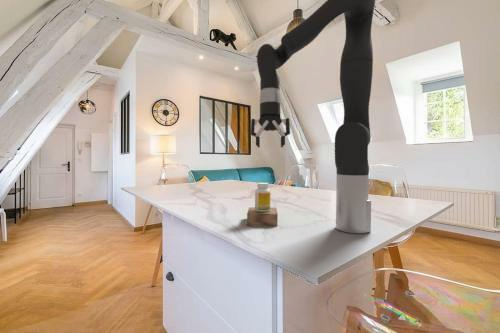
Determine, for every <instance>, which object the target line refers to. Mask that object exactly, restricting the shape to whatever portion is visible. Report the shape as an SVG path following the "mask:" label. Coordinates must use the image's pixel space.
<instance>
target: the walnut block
mask: <svg viewBox="0 0 500 333" xmlns="http://www.w3.org/2000/svg"><path fill="white" fill-rule="evenodd" d="M278 220H279V219H278V211H277V207H270V211H268V212H259V211H256V210H255V206H254V207H253V206H250V207H248V211H247V213H246V225H247V226H251V227H253V226H254V227H255V226H256V227H259V226H261V227H268V226H269V227H278Z"/></svg>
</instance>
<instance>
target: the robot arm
mask: <svg viewBox="0 0 500 333" xmlns="http://www.w3.org/2000/svg"><path fill="white" fill-rule="evenodd" d="M375 5H376V0H326V1H325V2H324V3H323V4H322V5H320V6H319V7H318V8H317V9H316V10H315V11H314V12H313V13H312V14H310V16H308V17H307V18H306V19H304V20H303V21H302V22H301V23H299V24H298V25H296V26H295V27H293V28H292V29H291V30H289V31H287V33H285V34H284V35H283V36H281V40H280V43H281V44H280V45H279V46H278V47H277V48H275V47H274V46H273V45H272V44H271V43H265V44H263V45H261V46H260V47H259V49H258V51H257V54H256V63H257V64H256V65H257V68H258V69H257V70H258V74H259V78H260V80H259V81H260V83H259V84H260V87H259V88H260V89H259V90H260V93H259V118H258V119H256V118H251V124H250V125H251V126H250V136H252V137H255V146H256V147H257V148H259V149H260V146H261V143H260V142H261V138H260V136H261V135H262V133H263V131H266V132H269V131H270V132H271V131H272V132H275V131H276V132H277V133H278V134H279V135H280V148H284V146H285V145H286V137H287V136H289V135H290V134H291V125H290V124H291V123H290V118H289V117H287V118H283V119H282V118H281V91H280V87H281V86H280V76H279V74H278V72H277V70H278V69H279V68H281V67H282V66H284V64H286V63H287V61H289V60H290V58H292V57H293V55H295V54H296V53H298V52H299V51H301V50H303V49H304V48H305V47H307V46H308V45H309V44H311V43H312V42H313V41H315V39H316V38H317V37H318V36H319V35H320V34H321V32H322V31H323V30H325V28H326V27H327V26H328V25H329V24H330V23H332V21H334V20H335V19H336V18H337V17H339V16H341V15H343V14H344V22H345V40H344V41H345V42H344V46H343V49H342V52H341V55H340V57H341V58H340V63H339V64H340V65H339V85H340V92H341V99H342V102H343V123H342V124H341V125H339V127H338V128H337V130H336V133H335V135H334V136H335V137H334V164H335V167H336V168H335V169H336V182H335V184H336V191H335V192H336V194H335V195H336V196H335V200H336V201H335V228H336V230H338V231H341V232H345V233H348V234H365V233H371V232H372V200H370V199H369V189H370V188H369V187H370V186H369V182H370V181H369V180H370V166H369V159H368V158H369V156H368V154H369V151H368V150H369V149H368V148H369V145H370V142H371V139H372V137H371V136H372V135H371V127H370V115H369V114H370V113H369V112H370V111H369V110H370V100H371V92H372V81H373V66H374V65H373V64H374V57H373V56H374V55H373V54H374V52H373V51H374V50H373V43H372V24H373V16H374V10H375ZM281 123H283V125H284V126H285V132H284V131H283V129H282V128H281V127H280V126H281ZM258 124H259V126H260V128H259V129H258V131H257V132H255V129H256V128H255V126H257V125H258Z"/></svg>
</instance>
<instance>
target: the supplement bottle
mask: <svg viewBox="0 0 500 333" xmlns="http://www.w3.org/2000/svg"><path fill="white" fill-rule="evenodd" d="M269 186H270V185H269V182H258V183H257V186H256V187H257V188H256V189H255V191H254V192H255V194H254V197H255V199H254V207H255V210H256V211H259V212H268V211H270V208H271V196H272V192H271V190H270V188H269Z"/></svg>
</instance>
